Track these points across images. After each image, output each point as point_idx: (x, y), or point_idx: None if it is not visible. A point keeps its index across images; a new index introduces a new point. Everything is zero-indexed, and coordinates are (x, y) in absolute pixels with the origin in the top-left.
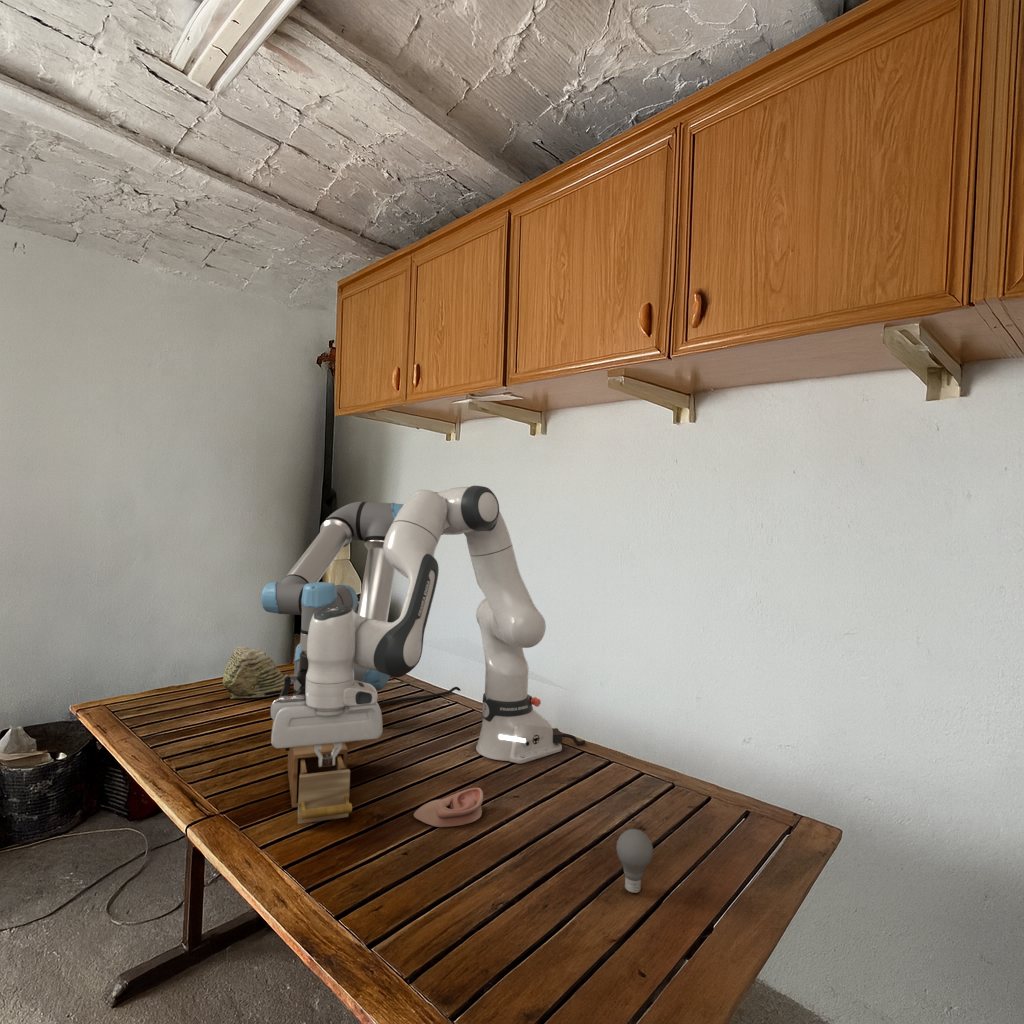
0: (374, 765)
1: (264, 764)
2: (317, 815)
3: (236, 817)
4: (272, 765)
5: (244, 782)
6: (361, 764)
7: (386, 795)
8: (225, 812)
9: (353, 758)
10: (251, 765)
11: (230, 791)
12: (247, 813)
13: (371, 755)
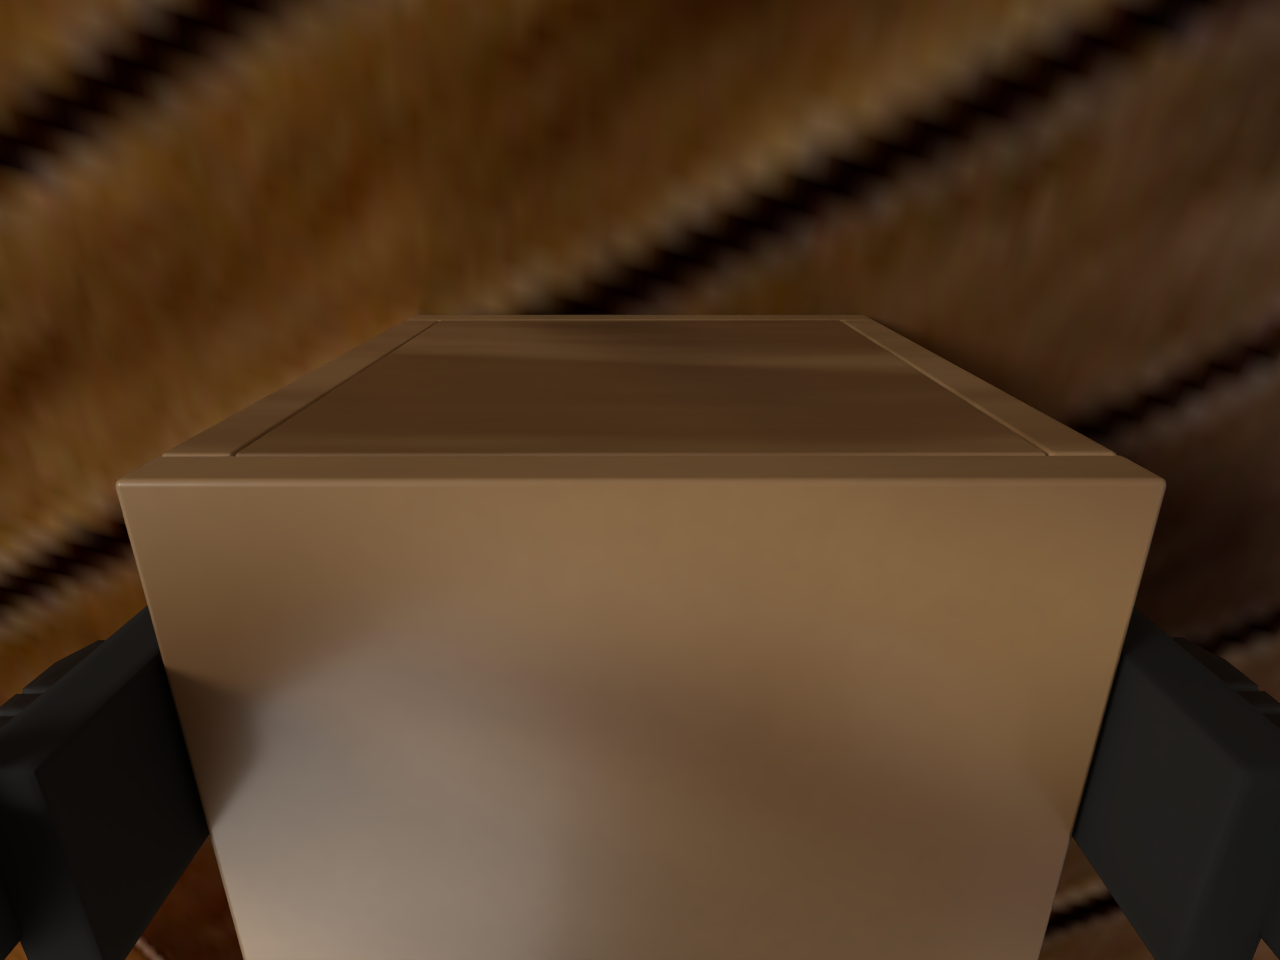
0: (1193, 465)
1: (168, 138)
2: None
3: (171, 934)
4: (257, 191)
5: (81, 502)
6: (1093, 412)
7: (1060, 917)
8: None
9: (1074, 243)
10: (35, 126)
11: (20, 624)
12: (224, 911)
13: (1277, 214)
